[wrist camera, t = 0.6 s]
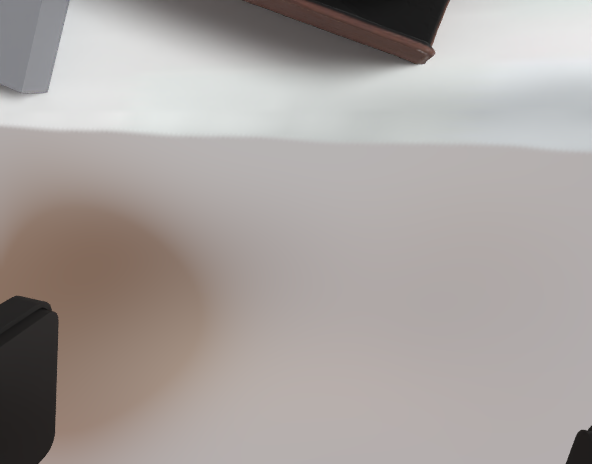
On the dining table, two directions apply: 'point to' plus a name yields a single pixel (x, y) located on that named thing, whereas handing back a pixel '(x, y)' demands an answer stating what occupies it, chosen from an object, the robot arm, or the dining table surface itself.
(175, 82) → the dining table surface
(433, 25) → the letter holder
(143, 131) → the dining table surface
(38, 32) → the grey stepped platform
